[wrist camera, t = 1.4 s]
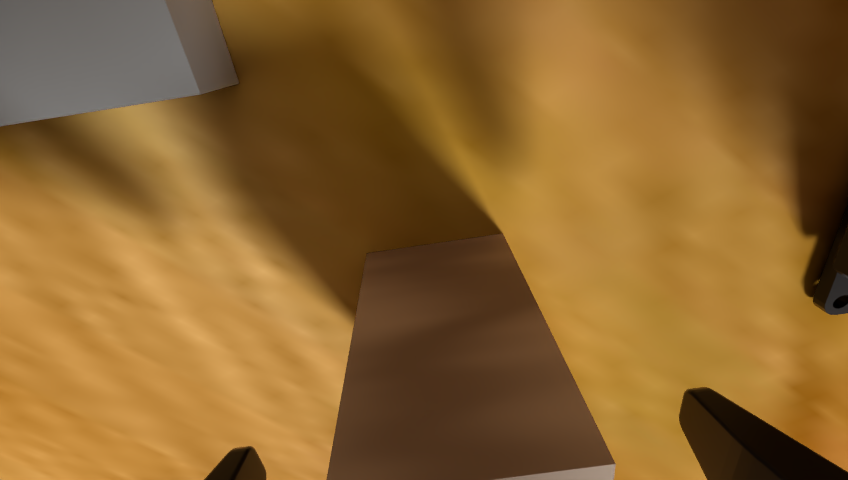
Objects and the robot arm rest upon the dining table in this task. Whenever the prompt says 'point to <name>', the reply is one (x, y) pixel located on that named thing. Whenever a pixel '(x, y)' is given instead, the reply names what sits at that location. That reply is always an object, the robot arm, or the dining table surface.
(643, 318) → the dining table surface
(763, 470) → the robot arm
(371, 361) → the beige rectangular prism
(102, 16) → the grey stepped square base
